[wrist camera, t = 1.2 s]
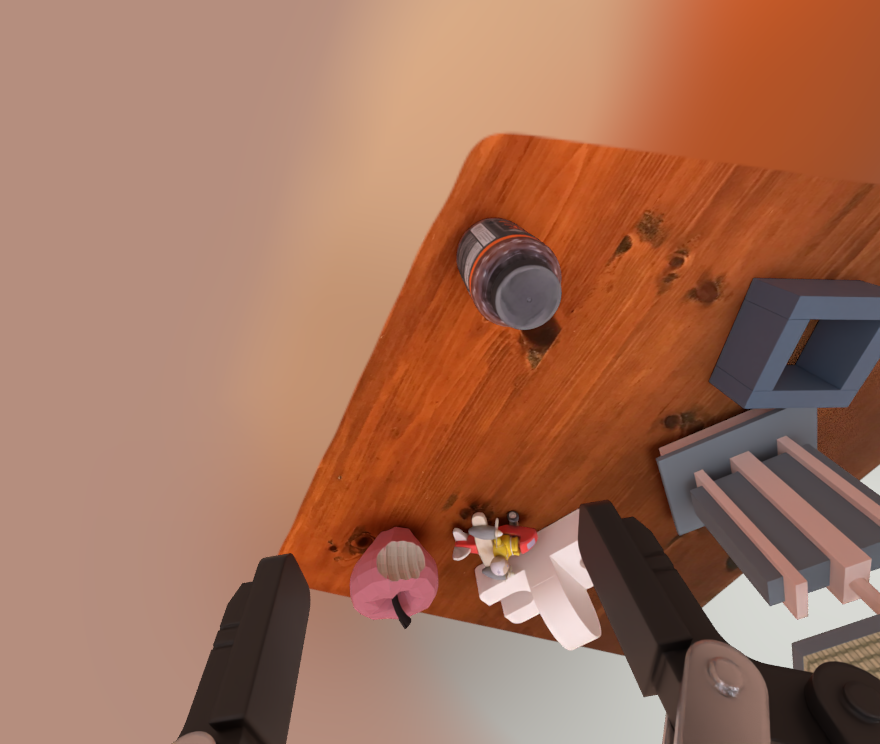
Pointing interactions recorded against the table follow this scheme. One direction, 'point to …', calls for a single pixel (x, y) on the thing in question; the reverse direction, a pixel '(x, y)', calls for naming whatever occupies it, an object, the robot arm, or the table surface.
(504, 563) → the toy airplane
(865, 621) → the desk lamp
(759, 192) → the table surface
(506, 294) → the supplement bottle
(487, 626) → the table surface
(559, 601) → the slotted arch bracket
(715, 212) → the table surface
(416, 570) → the apple
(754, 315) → the stand
